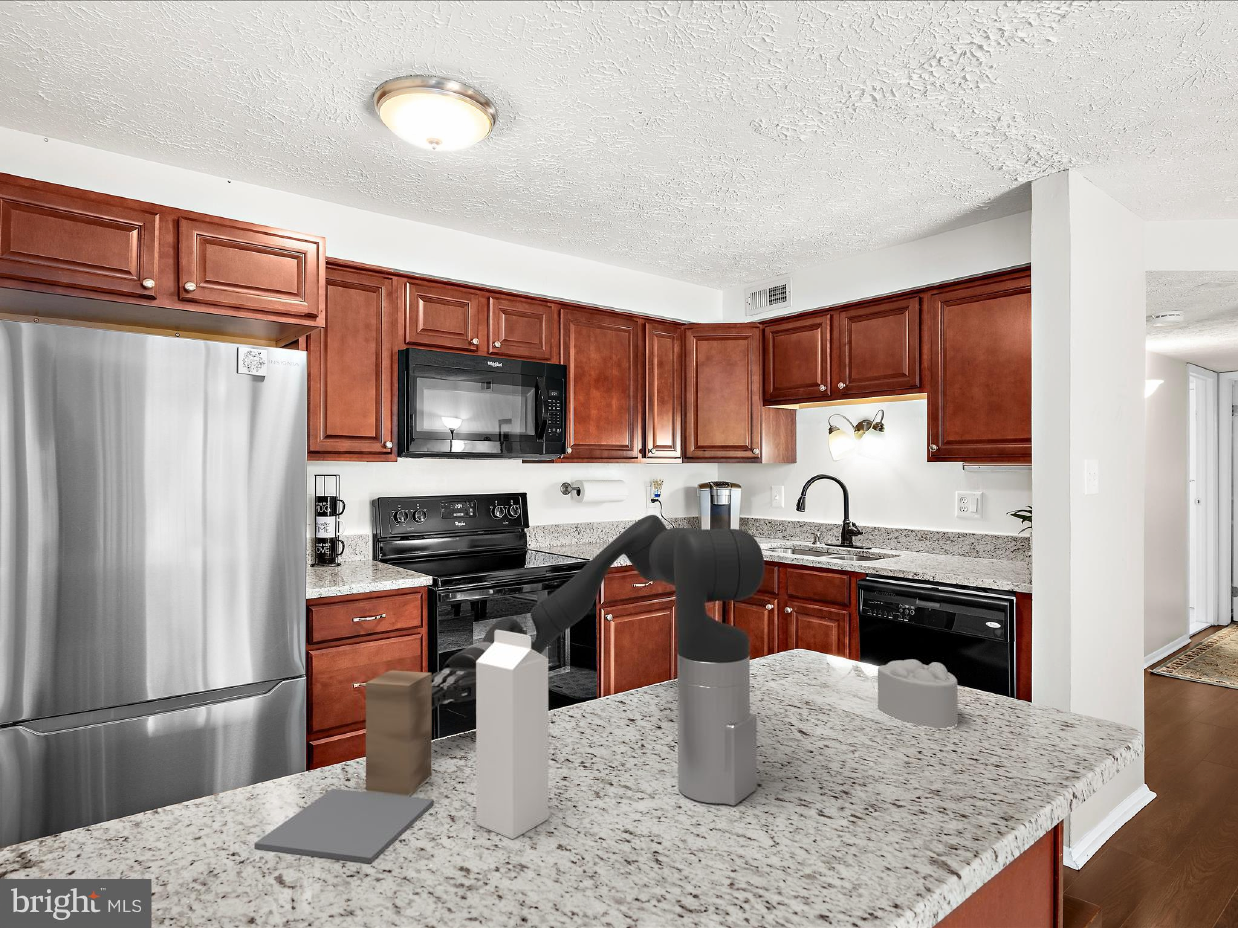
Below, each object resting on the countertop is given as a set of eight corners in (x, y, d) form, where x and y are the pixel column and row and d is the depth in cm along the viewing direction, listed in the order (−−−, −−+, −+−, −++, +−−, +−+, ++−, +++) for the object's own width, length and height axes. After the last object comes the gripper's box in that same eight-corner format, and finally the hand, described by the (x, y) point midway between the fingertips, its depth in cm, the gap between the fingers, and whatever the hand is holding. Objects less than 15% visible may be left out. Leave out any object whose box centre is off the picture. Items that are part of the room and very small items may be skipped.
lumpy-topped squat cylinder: (920, 702, 129) (919, 653, 129) (975, 726, 117) (975, 672, 117) (869, 708, 126) (869, 657, 126) (921, 733, 114) (920, 677, 114)
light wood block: (390, 774, 99) (390, 670, 99) (431, 778, 97) (431, 672, 98) (365, 793, 93) (365, 682, 93) (408, 797, 92) (408, 685, 92)
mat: (332, 793, 93) (332, 788, 93) (433, 803, 90) (433, 799, 90) (254, 848, 79) (254, 842, 79) (370, 863, 76) (370, 857, 76)
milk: (512, 806, 89) (512, 624, 90) (549, 819, 86) (549, 630, 86) (474, 825, 84) (475, 633, 85) (512, 840, 81) (512, 640, 81)
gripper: (513, 694, 118) (468, 732, 101) (438, 690, 120) (381, 726, 104) (513, 648, 118) (468, 678, 101) (437, 644, 121) (381, 673, 104)
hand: (424, 702), depth 102 cm, fingers closed
